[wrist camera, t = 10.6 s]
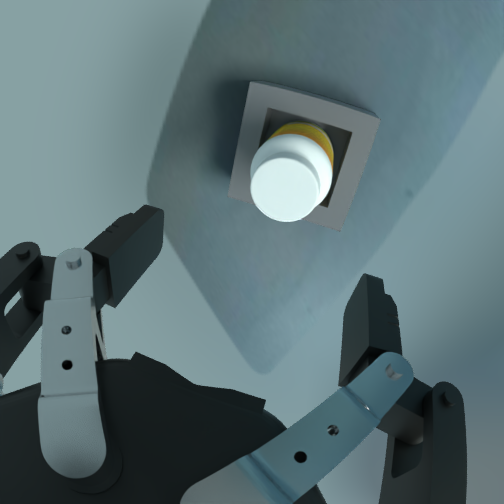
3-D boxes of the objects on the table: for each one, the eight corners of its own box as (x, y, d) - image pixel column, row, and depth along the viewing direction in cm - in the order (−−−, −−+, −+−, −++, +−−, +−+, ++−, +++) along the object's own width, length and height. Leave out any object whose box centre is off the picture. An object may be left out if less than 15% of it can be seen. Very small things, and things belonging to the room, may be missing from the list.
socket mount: (260, 80, 24) (250, 81, 21) (375, 113, 23) (380, 119, 20) (239, 182, 30) (227, 196, 27) (340, 214, 29) (340, 231, 26)
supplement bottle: (275, 113, 24) (243, 136, 16) (339, 128, 24) (341, 158, 16) (265, 172, 27) (232, 220, 19) (325, 186, 27) (318, 242, 19)
